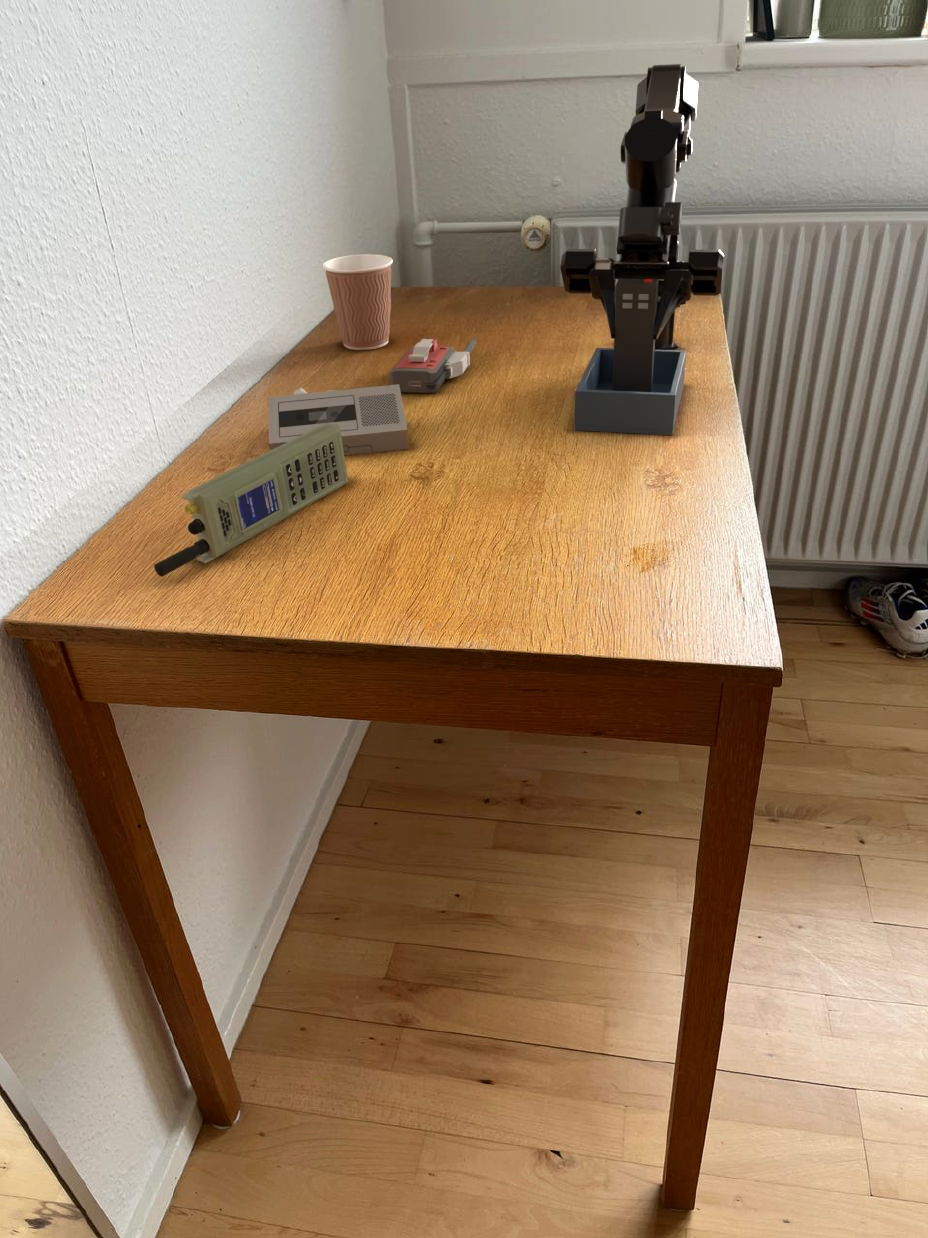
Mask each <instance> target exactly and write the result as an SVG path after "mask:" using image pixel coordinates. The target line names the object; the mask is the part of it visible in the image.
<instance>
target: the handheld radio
mask: <svg viewBox="0 0 928 1238" xmlns="http://www.w3.org/2000/svg"><path fill="white" fill-rule="evenodd" d="M348 483H349V477H348V470H347V464H346V458H345V455H344V451H343V444H342V438H341V432H340V427H339V425H337V424H329V423H328V424H324V425H321V426H319V427H317V428H315V429H313V430H311V431H309V432H307V433H305V434H303V435H301V436H299V437H297V438H295V439H293V440H291V441H289V442H287V443H285V444H283V445H281V446H279V447H277V448H275V449H273V450H270V449H269V450H268V451H267V452H265V453H262V454H260V455H258V456H256V457H254V458H252V459H250V460H248V461H246V462H244V463H242V464H240V465H238V466H236V467H233V468H232V469H230V470H227V471H226V472H224V473H222V474H219V475H218V476H216V477H215V476H214V477H213V478H211V479H209V480H207V481H205V482H203V483H201V484H200V485H197V486H195V487H193V488H191V489H189V490H188V491H187V492H186V493H184V494H182V495H181V496H180V498H181V499H183V500H187V501H188V504H186V505H185V506H184V511H185V513H186V514H188V515H192V519H193V520H192V521H190V522H189V523H188V525H187V531H188V532H189V533H190V534H191V535H196V536H197V538H198V540H197V541H195V542H194V543H193V545H191V546H188V547H185V548H183V549H181V550H179V551H177V552H175V553H174V554H172V555H170V556H168V557H166V558H165V559H162V560H161V561H159V562H156V563H155V564H154V565H153V568H154V571H155V573H156V575H158V576H159V577H165V576H166V575H168V574H170V573H172V572H173V571H175V570H177V569H179V568H181V567H183V566H185V565H186V564H188V563H190V562H191V561H194V560H195V559H196V558H197V559H196V561H198V562H201V563H203V564H207V563H209V562H211V561H213V560H215V559H217V558H218V557H220V556H222V555H224V554H226V553H227V552H229V551H231V550H232V549H234V548H236V547H238V546H239V545H240V546H241V544H244V543H246V542H247V541H248V540H250V539H252V538H254V537H255V536H257V535H259V534H261V533H263V532H264V531H266V530H268V529H270V528H272V527H273V526H275V525H277V524H278V523H281V522H282V521H284V520H285V519H287V518H289V517H291V516H292V515H295V514H296V513H298V512H299V511H302V510H303V509H305V508H307V507H308V506H310V505H312V504H314V503H316V502H317V501H319V500H321V499H323V498H324V497H326V496H329V494H331V493H333V492H335V491H336V490H339V489H340V488H342V487H343V486H345V485H347V484H348Z"/></svg>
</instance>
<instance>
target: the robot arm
mask: <svg viewBox="0 0 928 1238" xmlns="http://www.w3.org/2000/svg"><path fill="white" fill-rule="evenodd" d="M686 71H687V70H686V65H682V64H681V63H673V64H672V63H671V64H669V63H668V64H653V65H652V66H651V67H650V66H649V67H647V73H646V77H644V78H643V79H642V80H641V81H640V82H638V83H637V85H636V99H635V100H636V101H635V115H634V116H633V118H632V120H631V123H630V127H629V128H628V130H627V131H624V135H623V137H622V140H621V143H620V162H621V163H622V164H623V165H625V179H626V183H627V186H628V187H627V195H626V203H625V207H622V208H620V209H619V220H618V231H617V241H616V242H617V243H616V255H618V260H614V259H613V258H611V257H598V254H597V249H596V248H567V249H566V250H565V252H564V253H562V255H561V259H560V264H559V265H560V266H559V269H560V274H561V278H562V282H563V288H564V291H565V292H567V293H569V294H583V295H584V294H587V295H588V294H589V295H591V298H592V299H594V300H599V301H600V302H601V304H602V305H601V306H602V307H603V310H604V312H605V315H606V319H607V324H608V329H609V334H610V338H611V339H613V340H614V338H615V302H616V282H617V281H616V280H618V279H652V280H659V281H658V298H657V315H656V319H655V325H654V332H653V340H655V350H679V344H678V343H676V342H674V333H675V332H674V331H675V318H676V317H675V316H676V314H675V313H676V310H677V309H678V308H680V307H681V306H682V305H683V306H684V305H686V303H687V302H689V301H690V300H691V299H692V295H693V296H699V297H700V296H702V297H703V296H711V297H716V296H718V295H721V294H722V286H723V277H724V266H725V265H724V263H725V254H724V253H723V252H722V251H721V249H694V248H693V249H692V248H691V249H689V252H688V261H683V260H679V257H680V242H679V241H678V240H679V236H680V234H681V228H682V227H681V226H682V215H683V214H682V213H683V211H682V210H683V203H682V202H681V201H676V195H677V193H676V192H677V185H678V184H677V180H676V177H677V176H676V175H677V173H678V174H679V172H680V171H681V164H682V163H687V161H688V160H689V157H690V156H692V154H693V145H694V140H693V139H692V138H691V125H692V122H696V121H697V111H698V99H699V98H698V94H699V81H698V80H696V79H695V78H693V77H692V76H690V75H689V74H688V73H686Z"/></svg>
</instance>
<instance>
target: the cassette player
mask: <svg viewBox="0 0 928 1238" xmlns="http://www.w3.org/2000/svg"><path fill="white" fill-rule="evenodd" d="M334 390H335V391H328V390H325V391H315V392H307V393H304V394H294V393H293V394H285V395H276V396H275V395H274V396H273V395H272V396H267V416H268V417H267V418H268V446H269V451H270V450H273V449H275V448H277V447H279V446H281V445H283V444H285V443H287V442H289V441H291V440H293V439H295V438H297V437H299V436H301V435H303V434H305V433H307V432H309V431H311V430H313V429H315V428H317V427H319V426H321V425H324V424H328V423H329V424H337V425H339V427H340V432H341V438H342V444H343V451H344V456H353V455H360V454H371V453H381V452H391V451H392V452H393V451H399V450H400V451H402V450H409V449H410V446H409V431H408V425H407V419H406V415H405V414H406V413H405V408H404V404H403V397H402V393H401V392H400V386H399V384H398V385H390V384H387V385H379V386H378V385H377V386H368V387H367V386H366V387H357V388H346V389H338V390H337V389H334Z"/></svg>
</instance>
